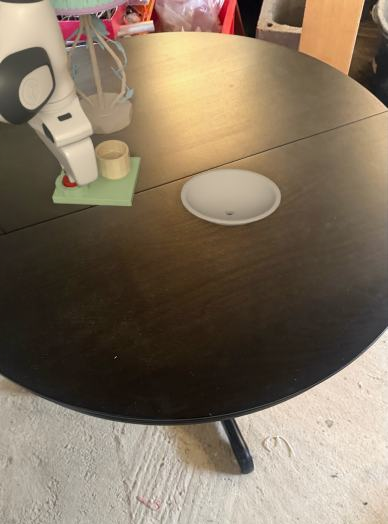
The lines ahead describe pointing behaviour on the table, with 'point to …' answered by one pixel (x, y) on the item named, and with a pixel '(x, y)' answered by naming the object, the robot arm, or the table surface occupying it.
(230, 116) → the table surface
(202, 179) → the dish
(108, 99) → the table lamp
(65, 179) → the button
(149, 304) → the table surface
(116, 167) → the beige cup
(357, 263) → the table surface
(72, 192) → the green base plate
